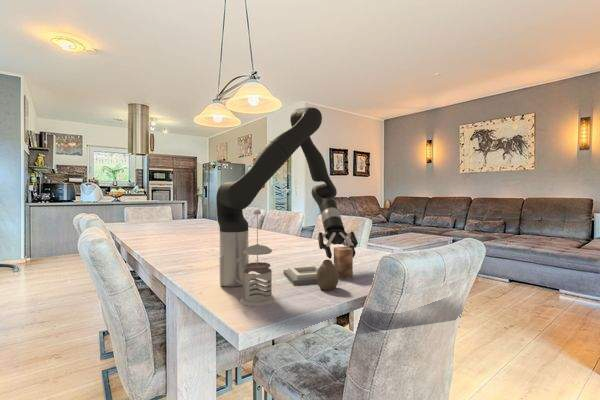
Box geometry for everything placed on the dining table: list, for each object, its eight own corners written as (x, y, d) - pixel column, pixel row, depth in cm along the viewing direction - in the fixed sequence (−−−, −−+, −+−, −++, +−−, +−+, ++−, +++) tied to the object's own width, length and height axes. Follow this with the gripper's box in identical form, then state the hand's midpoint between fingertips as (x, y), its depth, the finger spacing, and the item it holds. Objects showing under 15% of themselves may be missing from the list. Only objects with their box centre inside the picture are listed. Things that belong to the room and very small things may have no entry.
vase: (323, 293, 92) (323, 263, 91) (312, 287, 98) (312, 259, 97) (343, 289, 95) (343, 261, 94) (330, 283, 101) (330, 257, 101)
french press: (279, 303, 83) (279, 210, 82) (236, 309, 79) (235, 211, 78) (270, 292, 92) (270, 208, 92) (230, 297, 88) (230, 209, 88)
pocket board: (293, 285, 99) (293, 276, 99) (283, 274, 113) (283, 266, 113) (334, 281, 103) (334, 273, 103) (319, 271, 117) (319, 264, 117)
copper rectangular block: (339, 278, 107) (339, 250, 106) (333, 275, 111) (333, 247, 111) (352, 277, 108) (352, 249, 108) (346, 274, 113) (346, 246, 112)
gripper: (316, 215, 117) (324, 251, 107) (351, 215, 120) (363, 250, 109) (313, 228, 123) (320, 263, 112) (347, 227, 126) (357, 261, 115)
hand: (342, 256), depth 111 cm, fingers open, 8 cm apart
